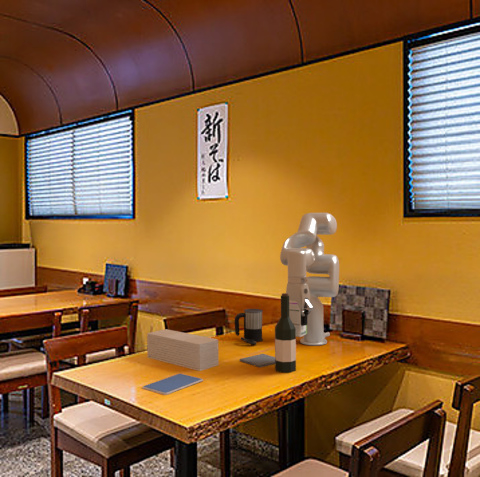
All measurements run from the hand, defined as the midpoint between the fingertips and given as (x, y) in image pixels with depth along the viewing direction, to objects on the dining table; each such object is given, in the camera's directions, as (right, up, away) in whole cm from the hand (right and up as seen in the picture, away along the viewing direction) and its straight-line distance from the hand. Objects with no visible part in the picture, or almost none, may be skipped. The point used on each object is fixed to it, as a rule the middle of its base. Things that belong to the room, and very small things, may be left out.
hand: (297, 323), depth 212 cm
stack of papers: (-48, -17, +5) cm, 51 cm away
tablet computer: (-48, -19, -25) cm, 57 cm away
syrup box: (0, -5, 0) cm, 5 cm away
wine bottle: (-6, -17, -9) cm, 20 cm away
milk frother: (-18, -15, +37) cm, 44 cm away
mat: (-15, -16, +4) cm, 22 cm away
